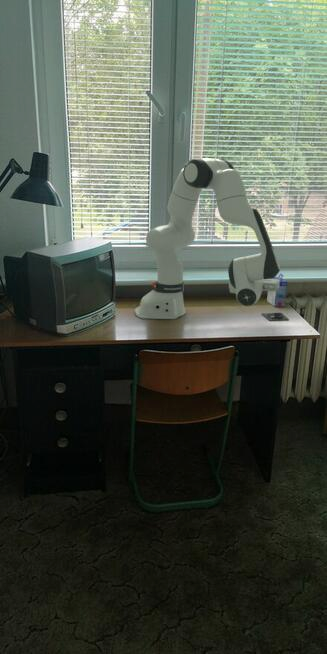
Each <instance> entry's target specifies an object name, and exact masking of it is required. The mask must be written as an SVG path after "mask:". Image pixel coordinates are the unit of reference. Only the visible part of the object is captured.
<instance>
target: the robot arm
mask: <svg viewBox="0 0 327 654" xmlns="http://www.w3.org/2000/svg"><path fill="white" fill-rule="evenodd" d="M203 189H205V190H206V189H208V190H209V189H211V190H212V191H214V194H215V199H216V200H215V201H216V206H217V211H218V213H219V216H220V218H221V219H222V220H223V221H224V222H226V223H228V224H232V225H235V226H236V225H237V226H243V227H248V228H250V229H251V230H252V231H254V233H255V236H256V239H257V241H258V244H259V246H260V249H261V251H260V252H259V253H255V254H250V255H243V256H240V257H235V258H232V260H231V261H230V263H229V265H228V273H227V274H228V289H229V292H230V293H231V294H235V298H236V300H237V302H238V303H239V304H240V305H242V306H244V307H250V306H251V307H252V306H253V305H255V304H257V302H259V299H260V298H261V295H262V293H263V291H264V292H268V291H277V290H278V289H279V284H280V280H278V279H273V278H274V277H277V275H279V273H280V271H281V263H280V259H279V257H278V256H277V253H276V252H275V250H274V246H273V244H272V242H271V239H270V237H269V234H268V230H267V228H266V226H265V222H264V221H263V218H262V216H261V214H260V212H259V211H258V209H257V208H254V207H252V206H251V204H250V203H249V201H248V198H247V192H246V188H245V185H244V181H243V179H242V177H241V174H240V172H239V171H238V170H237V169H235V168H234V165H233V164H232V163H231V162H230V161H228V160H226V159H220V158H213V157H205V158H200V157H197V158H195V157H194V158H192V159H190V160H188V161H187V162H185V165H184V167H183V168H182V169H181V170H180V172H179V174H178V176H177V178H176V180H175V182H174V184H173V187H172V191H171V194H170V197H169V199H168V202H167V203H168V204H167V207H166V208H167V209H166V210H167V212H168V214H169V215H170V216H169V218H170V219H169V222H168V223H167V224H164V225H158V226H155V227H154V228H152V229H149V231H148V232H147V234H146V237H145V239H146V240H145V242H146V246H147V247H148V249H149V251H151V252H152V253H153V255H154V257H155V260H156V264H157V265H156V266H157V267H156V268H157V280H156V281H154V280H151V282H150V285H151V286H152V289H151V290H150V291H149V292H148V293H147V294H145V295H144V296H143V297H142V298H141V300H140V303H139V306H138V307H136V308H135V309H134V314H135V316H136V317H138V318H140V319H154V320H157V319H159V320H176V319H177V318H179V317H181V316H184V315H185V314H186V309H185V305H184V290H185V283H184V264H183V263H182V261H181V260H179V258H178V254H177V253H178V252H177V250H181V249H184V248H186V247H188V246H189V245H191V244H193V243H194V240H195V237H196V233H195V230H194V228H193V216H194V213H195V210H196V207H197V204H198V201H199V199H200V195H201V192H202V191H203Z"/></svg>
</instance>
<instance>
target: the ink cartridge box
mask: <svg viewBox="0 0 327 654" xmlns="http://www.w3.org/2000/svg"><path fill="white" fill-rule="evenodd" d="M279 273H280V272H279ZM283 278H284V274H282V273H280V274H278V276H275V277H274V278H273V279H278V280H280V284H279V289H278V290H277V291H267V297H266V301H267V302H268V303H269V304H270V305H271V306H273V307H274V308H275V307H276V308H277V307H280V308H281V307H285V306H286V305H285V304H286V297H287V296H286V295H287V290H288V289H287V288H288V281H287V280H285V279H283Z"/></svg>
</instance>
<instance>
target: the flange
mask: <svg viewBox="0 0 327 654" xmlns="http://www.w3.org/2000/svg"><path fill="white" fill-rule="evenodd" d="M261 316H263V317H264V318H265V319H266V320H267V321H268V322H277V321H279V322H280V321H289V320H290V319H289V318H288V317H287V316H286V315H284V313H282V312H265V313H264V312H263V313H261Z"/></svg>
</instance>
